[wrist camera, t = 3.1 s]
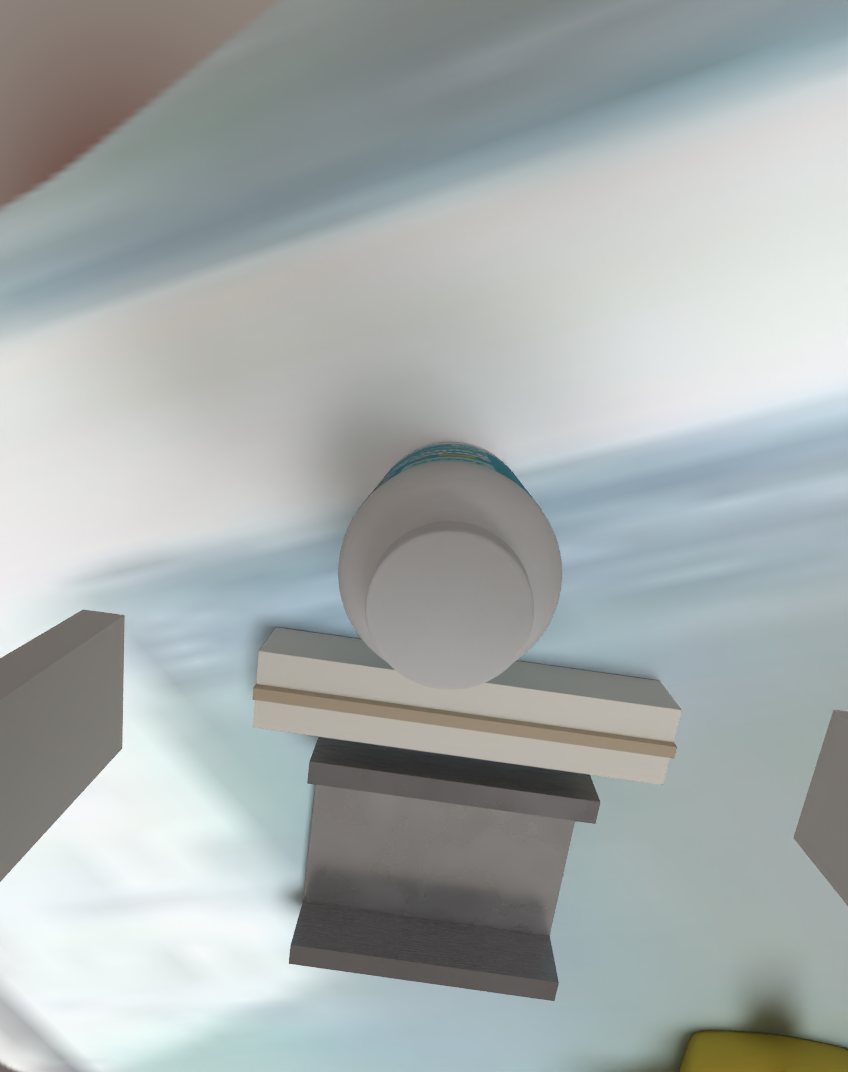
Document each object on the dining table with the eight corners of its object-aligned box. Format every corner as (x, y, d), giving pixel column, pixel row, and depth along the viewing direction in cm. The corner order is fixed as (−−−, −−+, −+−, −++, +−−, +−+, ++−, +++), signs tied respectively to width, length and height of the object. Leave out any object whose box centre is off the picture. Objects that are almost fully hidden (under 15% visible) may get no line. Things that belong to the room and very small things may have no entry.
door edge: (276, 627, 31) (256, 654, 28) (659, 680, 31) (685, 714, 28) (270, 697, 32) (250, 731, 29) (643, 749, 32) (665, 789, 29)
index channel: (324, 721, 32) (309, 761, 29) (583, 758, 32) (600, 802, 29) (304, 906, 35) (288, 963, 32) (543, 940, 35) (554, 1001, 31)
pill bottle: (479, 411, 28) (509, 423, 15) (551, 544, 30) (636, 661, 17) (344, 489, 29) (264, 563, 16) (420, 614, 31) (402, 776, 18)
